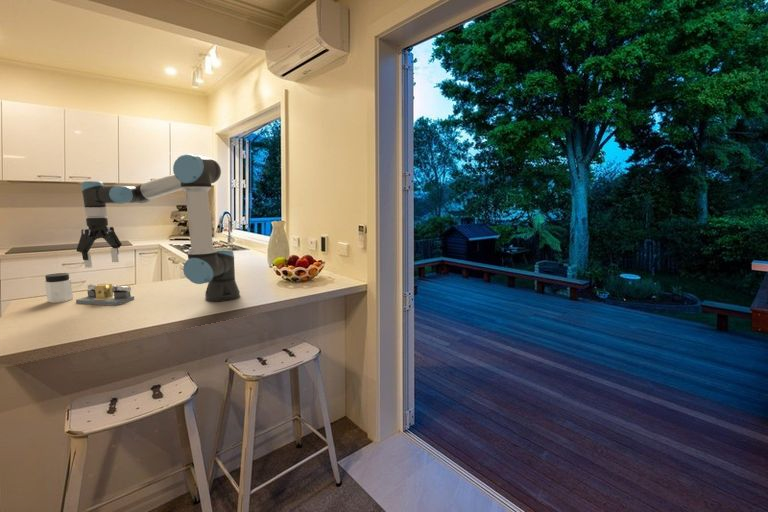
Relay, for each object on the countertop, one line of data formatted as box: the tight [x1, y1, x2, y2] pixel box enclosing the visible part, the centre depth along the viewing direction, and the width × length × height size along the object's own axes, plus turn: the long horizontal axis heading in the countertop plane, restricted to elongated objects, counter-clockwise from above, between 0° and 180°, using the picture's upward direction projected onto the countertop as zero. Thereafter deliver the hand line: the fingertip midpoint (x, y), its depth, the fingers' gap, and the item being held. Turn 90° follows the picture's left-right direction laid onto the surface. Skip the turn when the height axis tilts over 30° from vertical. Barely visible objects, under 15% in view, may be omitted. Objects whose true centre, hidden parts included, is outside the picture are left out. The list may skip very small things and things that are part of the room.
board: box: [75, 294, 135, 306], centre depth 169 cm, size 20×10×2 cm, turn 82°
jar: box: [44, 272, 74, 304], centre depth 169 cm, size 9×8×12 cm
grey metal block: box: [112, 285, 132, 299], centre depth 170 cm, size 6×4×6 cm, turn 97°
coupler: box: [95, 283, 114, 299], centre depth 169 cm, size 5×5×6 cm
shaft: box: [87, 283, 97, 298], centre depth 172 cm, size 6×4×6 cm, turn 67°
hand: (102, 264), depth 167 cm, fingers open, 13 cm apart
